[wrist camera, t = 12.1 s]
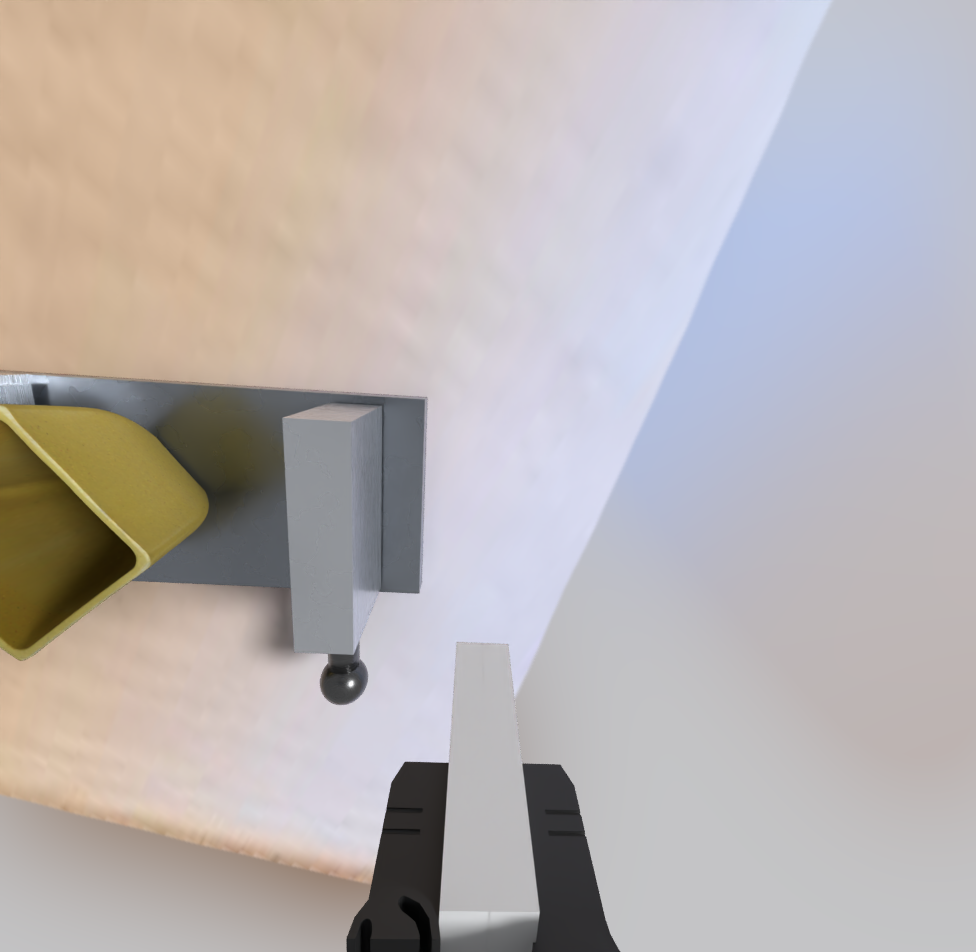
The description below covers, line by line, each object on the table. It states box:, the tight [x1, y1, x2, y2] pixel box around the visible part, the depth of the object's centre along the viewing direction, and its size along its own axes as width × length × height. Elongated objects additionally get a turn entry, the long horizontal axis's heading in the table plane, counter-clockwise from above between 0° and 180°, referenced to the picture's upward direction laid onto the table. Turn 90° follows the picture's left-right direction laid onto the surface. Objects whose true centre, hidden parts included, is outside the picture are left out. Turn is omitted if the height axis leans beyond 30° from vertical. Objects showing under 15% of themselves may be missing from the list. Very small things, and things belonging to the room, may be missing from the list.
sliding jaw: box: [282, 403, 382, 705], centre depth 26 cm, size 18×4×7 cm, turn 176°
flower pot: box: [0, 404, 209, 661], centre depth 24 cm, size 9×9×9 cm
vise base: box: [0, 370, 427, 593], centre depth 25 cm, size 13×26×8 cm, turn 86°
